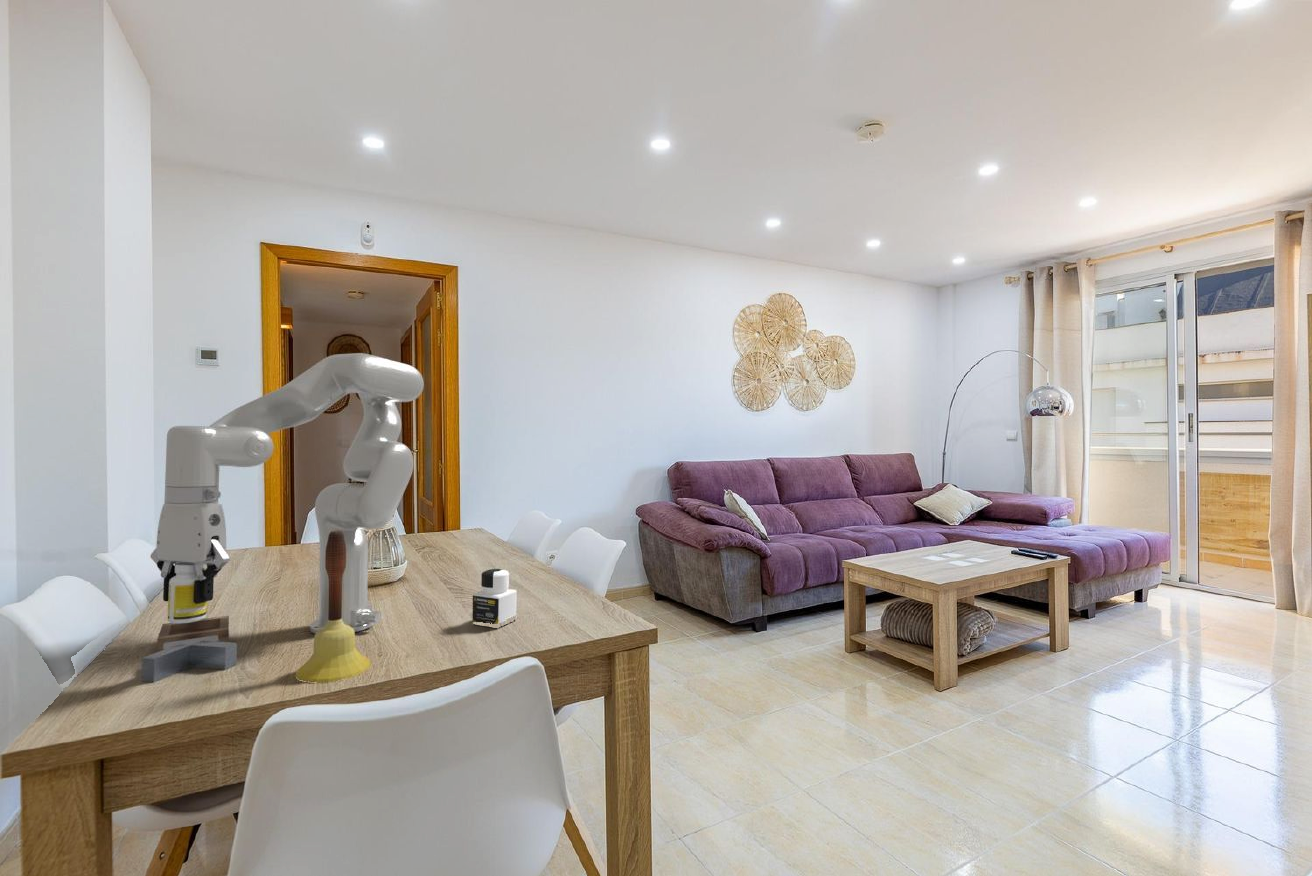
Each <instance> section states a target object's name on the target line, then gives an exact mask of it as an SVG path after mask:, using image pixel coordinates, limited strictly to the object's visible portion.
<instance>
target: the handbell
mask: <svg viewBox="0 0 1312 876" xmlns="http://www.w3.org/2000/svg"><path fill="white" fill-rule="evenodd" d="M325 567H326V571H327V574H328V578H329V609H328V622H327V624H326V626H325V627H323V628H321V629H320V630H319V631H318V632H317V633H316V634H315V633H314V639H313V653H312V655H310V657H309V659H308V660H307V661H306V662H304V664H302V665H301V666H300V667H299V668H298V669H297V670H296V672H295V674H296V675H295V674H294V678H295V677H297V678H298V679H299V680H303V681H306V682H308V681H309V682H317V683H321V684H329V683H328V682H332V683H334V682H333V681H338V680H342V679H346V678H349V677H354V676H356V675H358V674H360V673H362V672H363V671H364V670H367V669H368V668H369V666H370V662H371V660H370V659H369V658H367V657H366V656H364V655H363V654H361V653H360V652H359V651H358V650H357V648H356V636H355V635H356V634H355V633H356V632H354V629H353V628H352V627H350V626H348V625H345V624H344V623H343V621H342V578H343V573H344V571H345V568H346V544H345V540H344V534H343V532H342V531H331V532H330V534H329V537H328V542H327V545H326V556H325ZM356 677H357V676H356ZM354 678H355V677H354ZM323 682H324V683H323ZM338 682H339V681H338Z"/></svg>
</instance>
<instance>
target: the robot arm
mask: <svg viewBox="0 0 1312 876" xmlns="http://www.w3.org/2000/svg"><path fill="white" fill-rule="evenodd" d="M424 385H425V382H424V379H423V376H422V374H421V372H420V371H419V370H418V369H417V368H416V367H414V366H413V365H410V364H407V363H404V362H399V361H396V360H393V359H389V358H385V357H381V356H377V355H374V354H373V355H372V354H369V353H364V352H357V353H356V352H355V353H339V354H332V355H329V356H327V357H325V358H322V360H320V361H318V362H317V363H315V364H314V365H312V366H311V367H309V368H308V369H307V370H306V371H304V372H302V373H301V374H299V375H298V376H296V377H295V378H293V379H292V380H291V381H289V382H288V383H286V384H285V385H283V386H281V387H280V388H278V389H276V390H273V391H271V392H268V393H266V394H264V395H262V396H261V397H257V398H256V399H253V400H251V401H250V402H247V403H245V404H242V405H240V406H238V407H237V408H235V409H233V410H231V411H230V412H228V413H227V414H225V415H224V416H222V417H221V418H219V419H217V420H216V421H214V422H213V423H211V424H210V425H208V426H205V425H204V426H203V425H175V426H172V427H170V428H168V431H167V434H166V447H165V449H166V450H165V451H166V452H165V473H164V474H165V475H164V476H165V477H164V480H165V481H164V500H163V501H164V504H162V507H161V510H160V514H159V515H160V516H159V521H158V528H157V534H156V547H155V548H154V549H153V551H152V552H151V554H150V559H152V561H153V563H155V565H156V566H157V568H158V570H159V572H160V577H161V578H162V579H163V590H162V594H163V596H162V600H163V602H168V596H169V581H170V579H171V578H172V577H174V576H176V573H175V564H178V563H194V565H195V569H196V573H197V577H198V580H195V582H194V603H195V604H199V603H203V602H207V603H208V602H210V601H212V600H213V599H214V583H215V580H214V579H215V578H217V577H218V574H219V572H221V570H222V568H223V567H225V566H226V565H227V564H228V563H229V561H231V560H230V557H229V555H228V553H227V527H226V517H225V512H224V508H223V504H220V503H219V499H220V498H221V495H222V494H221V491H220V490H219V489H220V487H219V484H220V483H219V482H220V467H234V468H235V467H236V468H252V467H256V466H259V465H262V464H264V463H265V462H267V461H268V460H269V459H270V458H271V456H272V455H273V452H274V448H275V447H274V442H273V441H274V440H273V439H272V438H271V436H270V434H273V433H275V432H278V431H282V430H285V429H289V428H294V427H298V426H301V425H303V424H307V423H309V422H311V421H313V420H316V418H318V417H319V416H320V415H321V414H323V413H324V412H325V411H326V410H328V409H329V408H331V407H332V406H333V405H334V404H336V403H337V402H338V401H340V400H341V399H342V398H344V397H345V396H347V395H349V394H357V395H358V398H359V399H360V402H361V405H362V409H363V418H362V422H361V424H360V427H359V429H358V431H357V432H356V435H355V437H354V438H353V440H352V442H351V444H350V447H349V448H348V449H347V452H346V454H345V457H344V459H343V463H342V464H343V465H342V467H343V473H344V474H345V475H346V476H347V477H348V478H349V479H351V480H353V481H357V482H363V483H365V484H363V483H349V482H339V483H334V484H330V485H328V486H326V487H325V488H323V489H322V490H320V492H319V494H318V495H317V497H316V500H315V504H314V511H315V518H316V523H317V528H318V538H319V540H318V541H319V564H318V565H319V566H318V568H319V569H318V619H316V620H314V621H313V622H311V624H310V626H309V629H310V632H311V633H312V634H314V635H315V634H316V633H317V632H318V631H319V630H320V629H321V628H323V627H325V626H326V624H327V622H328V609H329V578H328V574H327V571H326V567H325V556H326V545H327V542H328V537H329V534H330V532H331V531H342V532H343V534H344V540H345V544H346V568H345V571H344V573H343V578H342V621H343V623H344V624H345V625H348V626H350V627H352V628H353V629H354V632H355V633H357V632H360V631H364V630H367V629H369V628H371V627H372V626H374V624H377V623H379V622H380V620H381V617H382V615H383V613H382V611H381V610H380V611H379V610H372V606H373V605H372V603H368V579H369V577H368V573H369V571H368V568H369V567H368V566H369V565H368V564H369V560H368V559H369V557H368V556H369V544H368V543H369V542H368V538H367V534H366V531H365V530H378V529H381V528H383V527H385V526H386V525H388V523H389V522H390V521H391V520H392V518H393V517H394V515H395V513H396V511H397V509H398V507H399V504H400V503H401V500H402V498H403V496H404V493H405V490H406V489H407V486H408V484H409V483H410V479H411V477H412V475H413V471H414V456H413V452H412V451H411V449H410V448H409V447H408V446H407V445H406V444H404V443H402V442H400V441H398V439H399V436H400V434H401V431H402V418H401V415H400V413H399V410H398V406H397V405H396V403H409V402H413V401H415V400H416V399H418V398H419V397H420V396H421V394H422V392H423V390H424V387H425V386H424ZM205 565H206V568H205Z"/></svg>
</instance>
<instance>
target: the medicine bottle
mask: <svg viewBox="0 0 1312 876" xmlns="http://www.w3.org/2000/svg"><path fill="white" fill-rule="evenodd" d="M509 581H510V573H509V571H508V570H506V569H502V568H491V569H486V570H484V571H483V572H482V573H481V582H480V583H481V584H480V585H481V590H480V591H477V592H475V593H472V614H471V615H472V618H471V621H472V622H483V623H490V624H491V623H492V624H499V623H501V622H504V621H506V620H507V619H509V618H511V617H513V616H515V615H516V616H517V601H518V600H517V599H518V597H517V596H518V595H517V593H518V592H517V590H516V589H511V588H510V589H509V587H510V583H509Z"/></svg>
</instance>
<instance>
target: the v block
mask: <svg viewBox="0 0 1312 876" xmlns="http://www.w3.org/2000/svg"><path fill="white" fill-rule="evenodd" d="M237 645H238V644H237V642H231V641H230V642H218V635H214V636H208V637H201V638H194V639H188V640H181V641H174V642H167V643H164V645H163V650H162V651H159V652H157V651H156V652H155V653H152V654H148V655H145V656H143V657H141V682H146V683H155V682H158V681H160V680H163V679H165V678H167V677H170V676H174V675H175V674H178V673H180V672H183V671H185V670H187V669H190V668H198V669H210V670H211V669H214V670H225V671H226V670H228V669H230V668H233V667H235V666H236V665H237V655H238V653H237V647H238V646H237ZM234 665H235V666H234Z"/></svg>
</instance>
